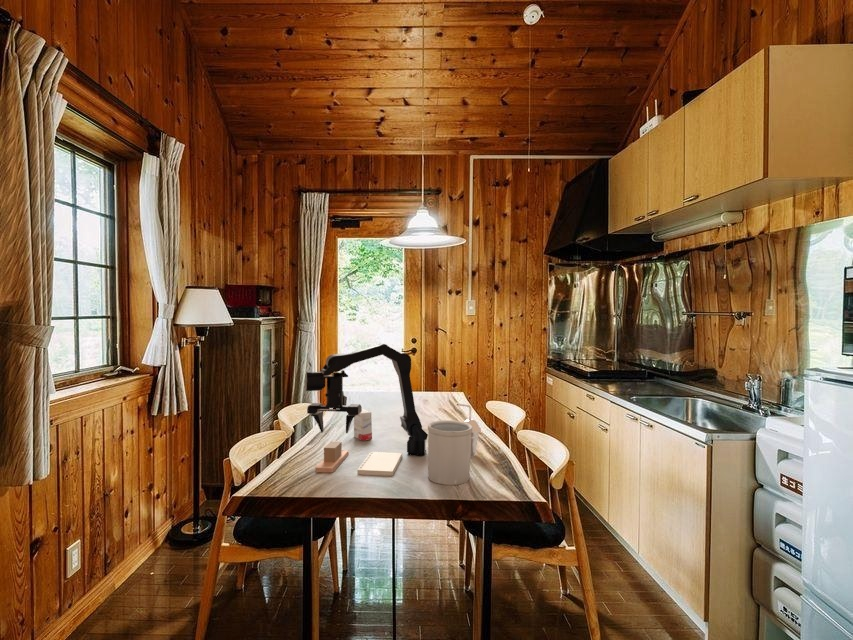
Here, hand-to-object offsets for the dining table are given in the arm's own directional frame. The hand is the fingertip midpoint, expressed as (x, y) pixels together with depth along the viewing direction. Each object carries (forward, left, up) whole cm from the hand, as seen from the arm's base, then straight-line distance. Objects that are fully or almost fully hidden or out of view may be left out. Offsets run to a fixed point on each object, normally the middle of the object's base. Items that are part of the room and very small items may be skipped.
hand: (334, 432), depth 169 cm
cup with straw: (-48, -15, -11) cm, 52 cm away
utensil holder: (-42, +10, -11) cm, 45 cm away
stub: (0, +1, -11) cm, 11 cm away
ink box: (-2, -32, -11) cm, 34 cm away
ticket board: (-17, +1, -11) cm, 20 cm away
